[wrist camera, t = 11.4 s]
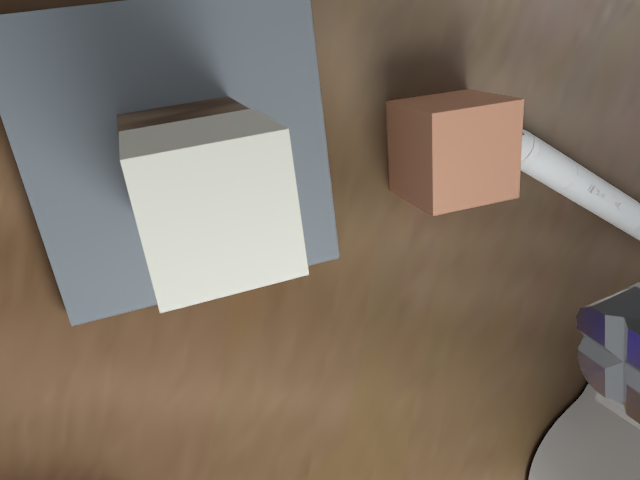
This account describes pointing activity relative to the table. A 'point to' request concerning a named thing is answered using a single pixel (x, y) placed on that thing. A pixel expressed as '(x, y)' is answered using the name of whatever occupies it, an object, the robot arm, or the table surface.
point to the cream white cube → (214, 205)
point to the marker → (579, 184)
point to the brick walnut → (177, 113)
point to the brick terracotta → (455, 149)
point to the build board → (142, 94)
